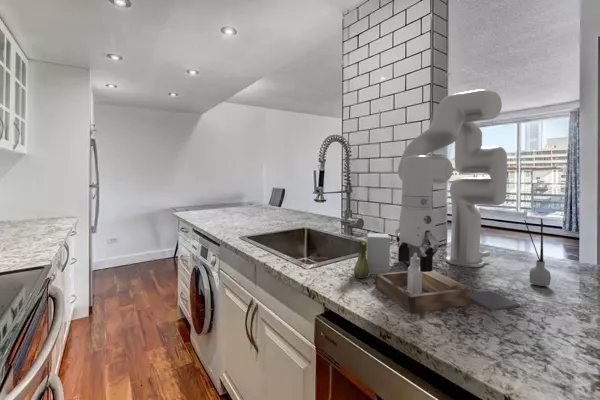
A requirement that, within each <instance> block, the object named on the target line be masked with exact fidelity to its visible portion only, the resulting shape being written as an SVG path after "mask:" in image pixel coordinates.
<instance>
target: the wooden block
mask: <svg viewBox="0 0 600 400" xmlns="http://www.w3.org/2000/svg"><path fill="white" fill-rule="evenodd" d="M463 288H464V284H463V283H461V282H459V281H456V280H454V279H452V278H450V277H448V276H446V275H443V274H441V273H439V272H437V271H435V270H432V271H431V272H422V289H423V290H425V291H427V292H428V293H430V292H438V291H447V290H455V289H463Z"/></svg>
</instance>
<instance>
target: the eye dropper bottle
mask: <svg viewBox="0 0 600 400" xmlns="http://www.w3.org/2000/svg"><path fill="white" fill-rule="evenodd" d="M407 271H408V284H407V286H406V287H407V288H406V289H407V290H406V291H407V292H409V293H410V294H412V295H414V294H422V292H423V288H422V272H421V271H420V258H418V257H417V253H414V255H413V257H411V258H410V265H409V266H408V267H407Z"/></svg>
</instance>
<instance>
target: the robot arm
mask: <svg viewBox="0 0 600 400" xmlns="http://www.w3.org/2000/svg"><path fill="white" fill-rule="evenodd" d="M502 103H503V102H502V98H501V96H500V95H499V93H497V92H496V91H493V90H488V89H475V90H469V91H464V92H458V93H454V94H453V93H452V94H448V95H446V96H445V97H443V98H442V99H441V100H440V101H439V104H438V106H437V108H436V111H435V113H434V116H433V118H432V121H431V123H430V126H429V128H428V129H426V130H424V131H423V132H421V134H419V135H418V136H416V138H414V139H413V140H412V141H411V142H409V144H408V145H407V146H406V147H405V149H404V151H403V153H402V156H401V158H400V160H399V164H398V168H397V169H398V170H397V174H398V178H399V179H400V180H401V182H402V183H401V207H400V208H401V210H400V214H399V222H398V228H397V229H395V235H396V236H395V237H396V238H395V239H396V241H397V243H396V244H397V248H398V249H397V250H398V253H397V254H398V256H397V260H398V262H400V263H402V262H403V263H405V261H409V248H410V247H408V245H412V246H415V247H419V248H420V251H421V253H422V256H421V257H420V271H421V272H431V271H433V264H434V263H433V260H434V259H433V257H435V254H436V253H437V252H438V248H439V246H440V241H439V240H438V239H437V238H436V236H437V234H436V220H435V219H436V218H435V211H434V209H433V208H432V205H433V185H435V184H438V185H439V184H444V183H447V182H448V181H449V180H450V179H451V178H452V176H453V172H454V167H455V170H456V172H457V173H458V174H463V175H464V174H465V175H489V177H461V178H456V179H455V180H453V181H452V182H451V184H450V187H449V194H450V202H451V230H450V231H451V232H450V234H451V235H450V255H447V256H446V257H445V262H447V263H449V264H451V265H455V266H459V267H465V268H481V267H483V266H484V265H485V261H484V260H483V259H482V258H487V257H490V255H491V254H490V252H489V251H481V232H482V231H481V230H482V229H481V228H482V216H481V213H480V211H479V210H478V209H477V207H476V206H475V205H479V206H500V205H502V204H504V202H505V201H506V198H507V188H508V187H507V185H508V155H507V152H506V150H505V148H503V147H502V146H498V145H491V146H490V145H489V146H483V132H482V130H481V128H480V127H479V126H478V125H477V124H476V123H475V122H480V121H481V122H482V121H486V120H487V121H488V120H489V121H490V120H494V119H496V118H497V117H498V116H499V115H500V113H501V111H502V108H503V107H502ZM453 143H454V167H453V164H452V162H451V160H450V159H448V158H447V157H444V156H429V155H428V154H430V153H432V152H435V151H438V150H441V149H443V148H446V147H447V146H448V147H449V146H450V145H452V144H453ZM425 248H427V250H425Z"/></svg>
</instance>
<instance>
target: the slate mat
mask: <svg viewBox="0 0 600 400" xmlns="http://www.w3.org/2000/svg"><path fill="white" fill-rule="evenodd" d="M470 302H473V303H475V304H477V305H479V306H481V307H483V308H485V309H487V310H489V311H498V310H503V309H505V310H506V309H510V308H511V309H512V308H517V307H521V303H520V302H517V301H514V300H511V299H510V298H507V297H505V296H504V295H503V296H502V295H501V294H499V293H495V292H493V291H491V290H485V291H477V292H476V291H475V292H471V293H470Z"/></svg>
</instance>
